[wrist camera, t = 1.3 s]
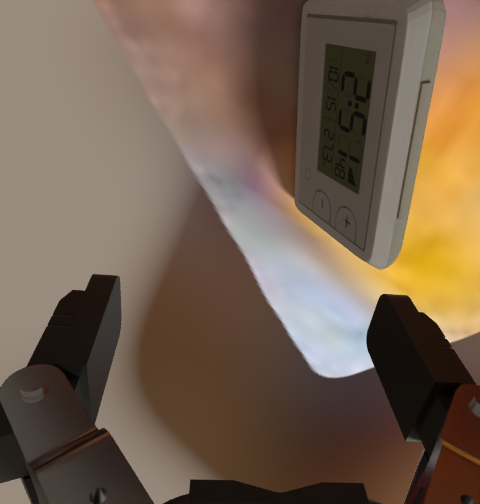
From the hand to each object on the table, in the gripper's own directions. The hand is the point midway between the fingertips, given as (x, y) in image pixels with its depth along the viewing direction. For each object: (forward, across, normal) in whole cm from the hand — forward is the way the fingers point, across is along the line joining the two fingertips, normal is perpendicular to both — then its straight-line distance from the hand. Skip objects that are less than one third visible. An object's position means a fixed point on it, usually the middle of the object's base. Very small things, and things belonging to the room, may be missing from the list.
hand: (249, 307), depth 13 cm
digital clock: (+23, -8, -1) cm, 24 cm away
